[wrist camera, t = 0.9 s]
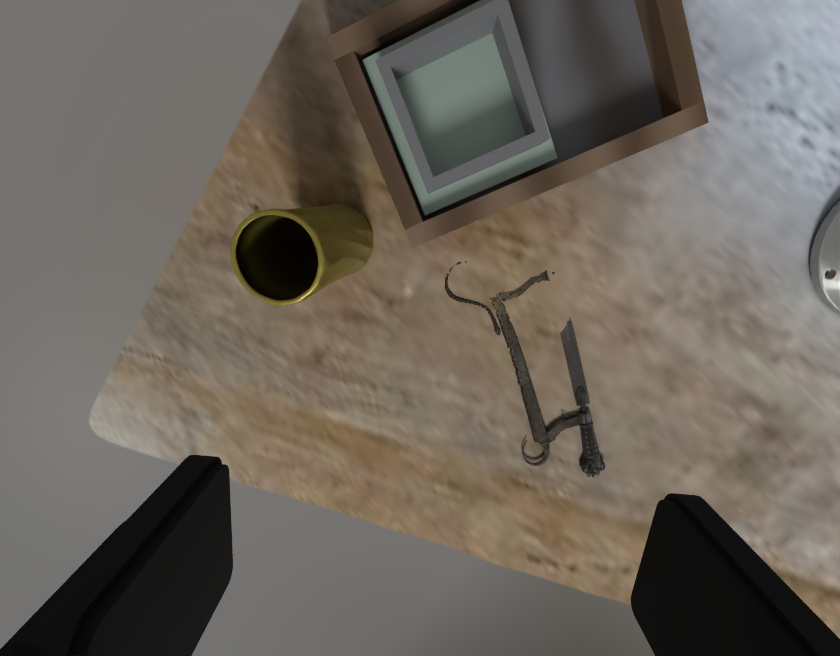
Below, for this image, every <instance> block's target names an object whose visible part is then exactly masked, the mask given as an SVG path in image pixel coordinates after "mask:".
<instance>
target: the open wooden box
mask: <svg viewBox="0 0 840 656" xmlns="http://www.w3.org/2000/svg"><path fill="white" fill-rule="evenodd" d="M478 1H480V0H397V1H396V2H394V3H392V4H390V5H388V6H386V7H384V8H382V9H380V10H378V11H376V12H374V13H373V14H371V15H369V16H367V17H365V18H363V19H361V20H359V21H357V22H355V23H353V24H351V25H350V26H348V27H346V28H344V29H342V30H340V31H338V32H336V33H334V34H332V35H330V36H328V37H327V38H326V41H327V43H328V45H329V48H330V50H331V53H332V55H333V57H334V60H335V62H336V65H337V67H338V69H339V72H340V74H341V77H342V79H343V81H344V84H345V86H346V89H347V91H348V93H349V96H350V98H351V101H352V103H353V105H354V108H355V110H356V113H357V115H358V117H359V120H360V122H361V125H362V127H363V129H364V132H365V134H366V137H367V139H368V141H369V144H370V146H371V149H372V151H373V153H374V156H375V158H376V161H377V163H378V165H379V168H380V170H381V173H382V175H383V178H384V180H385V182H386V185H387V187H388V190H389V192H390V194H391V197H392V199H393V202H394V204H395V206H396V209H397V211H398V214H399V216H400V218H401V221H402V223H403V226H404V228H405V230H406V233H407V235H408V238H409V240H410V242H411V245H412V247H415V246H417V245H420V244H422V243H424V242H427V241H429V240H431V239H434V238H436V237H439V236H441V235H443V234H446V233H448V232H450V231H453V230H455V229H458V228H460V227H462V226H465V225H467V224H469V223H472V222H474V221H476V220H479V219H481V218H484V217H486V216H488V215H491V214H493V213H495V212H498V211H500V210H502V209H505V208H507V207H510V206H512V205H514V204H517V203H519V202H521V201H524V200H526V199H529V198H531V197H533V196H536V195H538V194H540V193H543V192H545V191H547V190H550V189H552V188H555V187H557V186H559V185H562V184H564V183H566V182H569V181H571V180H574V179H576V178H578V177H581V176H583V175H585V174H588V173H590V172H592V171H595V170H597V169H600V168H602V167H604V166H607V165H609V164H611V163H614V162H616V161H618V160H621V159H623V158H626V157H628V156H630V155H633V154H635V153H637V152H640V151H642V150H645V149H647V148H649V147H652V146H654V145H656V144H659V143H661V142H663V141H666V140H668V139H671V138H673V137H675V136H678V135H680V134H682V133H685V132H687V131H689V130H692V129H694V128H697V127H699V126H701V125H704V124H706V123H708V118H707V113H706V109H705V104H704V100H703V95H702V91H701V86H700V82H699V77H698V73H697V68H696V64H695V59H694V55H693V50H692V46H691V41H690V37H689V32H688V28H687V23H686V19H685V14H684V10H683V5H682V1H681V0H508V1H509V4H510V7H511V11H512V14H513V17H514V20H515V23H516V27H517V30H518V33H519V36H520V39H521V43H522V46H523V49H524V52H525V55H526V59H527V62H528V65H529V68H530V71H531V75H532V78H533V81H534V84H535V87H536V91H537V94H538V97H539V100H540V103H541V107H542V110H543V113H544V116H545V120H546V123H547V126H548V129H549V132H550V136H551V139H552V142H553V145H554V148H555V152H556V155H557V158H556V159H554V160H552V161H550V162H547V163H545V164H543V165H540V166H538V167H536V168H533V169H531V170H529V171H526V172H524V173H522V174H519V175H517V176H515V177H513V178H510V179H508V180H506V181H503V182H501V183H499V184H496V185H494V186H492V187H489V188H487V189H485V190H483V191H480V192H478V193H476V194H473V195H471V196H469V197H466V198H464V199H462V200H459V201H457V202H455V203H452V204H450V205H448V206H446V207H443V208H441V209H439V210H436V211H434V212H432V213H429V214H427V215H424V212H423V210H422V207H421V205H420V202H419V200H418V197H417V195H416V192H415V190H414V187H413V185H412V182H411V180H410V177H409V175H408V172H407V170H406V167H405V165H404V162H403V160H402V157H401V155H400V152H399V150H398V147H397V145H396V142H395V140H394V137H393V135H392V132H391V130H390V127H389V125H388V122H387V120H386V117H385V115H384V112H383V110H382V107H381V105H380V102H379V100H378V97H377V95H376V92H375V90H374V87H373V85H372V82H371V80H370V77H369V75H368V72H367V70H366V67H365V65H364V62H363V59H365V58H367V57H369V56H371V55H373V54H375V53H377V52H379V51H381V50H383V49H385V48H387V47H389V46H391V45H393V44H395V43H397V42H399V41H401V40H403V39H405V38H407V37H409V36H411V35H413V34H415V33H417V32H419V31H421V30H422V29H424V28H426V27H428V26H430V25H432V24H434V23H436V22H438V21H440V20H442V19H444V18H446V17H448V16H450V15H452V14H454V13H456V12H458V11H460V10H462V9H464V8H466V7H468V6H470V5H472V4H474V3H476V2H478Z"/></svg>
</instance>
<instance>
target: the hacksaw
mask: <svg viewBox="0 0 840 656" xmlns="http://www.w3.org/2000/svg"><path fill="white" fill-rule="evenodd" d="M466 262H467V261H465V263H466ZM460 263H461V262H458V263H457V265H458V264H460ZM455 265H456V264H455ZM452 268H453V267H452ZM452 268H451V269H452ZM451 269H450V271H451ZM449 273H450V272H449ZM552 274H555V272H552ZM541 275H542V276H541ZM448 276H449V274H447V277H446V278H445V289H446V291H447V294H448V295H449V296H450V297H451V298H453V299H454V300H457V301H460V302H465V303H470V304H474V305H478V306H482V308H486V310H487V311H488V313H489V314H490V316H491V319H492V321H493V324H494V330H495V332H496V333H497V334H498V335H500V328H499V327H498V324H497V322H496V319H495V318H494V315H493V314H492V313H491V310H490V309H488V307H487V306H485V305H483V304H480V303H479V302H475V301H471V300H467V299H464V298H460V297H457V296H455V295H453V293H452V292H451V291H450V289H449V288H448V283H447V281H448ZM542 280H544V281H545V280H547V281H550V279H549V278H548V274H547V270H546V271H545V272H543V274H542V273H540V276H535V277H532V278H530V279H529V280H528V281H527V282H525V283H524V284H523V285H522V286H521V287H519V288H518V289H515V290H513V291H510V292H505V293H498V294H499V297H498V294H497V297H493V298H491V297H490V298H491V300H492V302H491V303H492V304H493V306H494V308H495V309H496V310H497V313H496V315H497V317H498V319H499V322H500V326H501V329H502V332H503V335H504V338H505V341H506V343H507V345H508V348H510V350H511V351H510V355H511V356H512V362H513V365H514V367H515V369H516V371H515V373H516V375H517V378H518V381H519V382H518V384H519V385H520V386H521V393H522V396H523V401H524V404H525V408H526V412H527V415H528V419H529V423H530V427H531V431H532V434H533V438H534V441H535V442H537V443H539V444H540V445H541V446H542V448H543V449H544V458H543V459H542V460H541V461H539V462H537V463H530V462H528V461H527V460H526V458H525V456H524V453H523V450H524V447H525V444H526V442H525V444H524V446H523V449H522V455H523V458H524V460H525V461H526V462H527V463H528V464H530V465H534V466H538V465H541V464H543V463H545V462H546V461H547V459H548V457H549V454H550V453H549V448H550V447H549V445H548V444H549V443H550V442H551V441H553V440H555V438H556V436H557V435H558V434H559V433H560V432H561V431H563V430H564V429H566V428H569V427H573V426H577V425H579V426H580V427H581V435H582V443H583V444H582V445H583V451H584V454H583V457H582V459H581V461H580V467H581V468H582V471H583V472H585V473H587V474H586V475H587V476H588V477H590V476H591V474H592V477H594V475H599V474H600V471H602V470H605V463H604V462H603V461H602V460H601V458H600V455H599V451H598V447H597V443H596V440H595V435H594V431H593V426H592V425H593V422H592V421H591V415H590V411H589V410H586V407H585V404H588V403H590V401H589V397H588V393H587V389H586V384H585V379H584V374H583V370H582V366H581V365H582V364H581V362H580V361H581V360H580V356H579V352H578V347H577V345H576V344H577V343H576V339H575V334H574V330H573V329H574V328H573V326H572V325H573V324H572V322H571V319H570V318H569V319H570V321H567V325H568V326H567V325H566V327H565V328H564V329H563V331H562V332H561V333H560V334H561V338H562V342H563V347H564V351H565V356H566V360H567V365H568V369H569V373H570V378H571V382H572V387H573V391H574V395H575V400H576V404H577V406H580V405H581V412H578V413H577V414H578V415H575V416H571V417H569V416H567V415H565V414H564V413H563V412H562V413H561V414H562V415H565V416H567V417H569V418H565V419H563V420H560V421H558V422H556V423H555V424H553V425H552V426H551V427H550V428H549V429H548V430H547V431H546V429H545V426H544V423H543V420H542V416H541V413H540V409H539V406H538V403H537V400H536V396H535V393H534V390H533V387H532V383H531V380H530V376H529V373H528V370H527V367H526V363H525V360H524V356H523V353H522V350H521V348H520V345H519V342H518V338H517V336H516V333H515V331H514V328H513V326H512V324H511V322H510V320H509V316H508V314H507V313H506V310H505V306H504V304H503V303H502V302H501V300H503V299H499V298H504V300H503V301H506V300H507V299H511V298H514V297H517V296H520V295H521V294H523V293H524V292H525V291H526V290H527V289H528V288H529V287H530V286H531V285H533V284H534V283H535V282H538V283H539V282H541V281H542ZM497 298H498V299H497ZM526 441H527V440H526Z"/></svg>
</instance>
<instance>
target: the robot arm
mask: <svg viewBox="0 0 840 656" xmlns="http://www.w3.org/2000/svg"><path fill="white" fill-rule="evenodd" d="M810 271H811V279H812V282H813V285H814V287H815V290H816V292H817V294H818V295H819V297H820V298H821V300H822V301H823V302H824V303H825V304H826V305H827V306H828V307H829V308H830V309H832V310H833V311H835V312H836V313H838V314H840V200H839V201H838V202H837V204H836V205H835V206H834V207H833V208H832V209H831V211H830V212H829V213H828V215H827V216H826V218H825V219H824V221H823V222H822V224H821V226H820V228H819V230H818V232H817V234H816V236H815V240H814V243H813V247H812V250H811V259H810ZM232 569H233V555H232V531H231V506H230V481H229V468H228V466H227V465H223V464H222V462H221V460H220V458H219V457H212V456H200V455H190V456H188V457H187V458H186V459H185V460H184V461H183V462H182V463H181V464H180V465H179V466H178V467H177V468H176V469H175V470H174V471H173V473H171V475H170V476H169V477H168V478H167V479H166V480H165V481H164V482H163V483H162V484H161V485H160V486H159V487H158V488H157V489H156V490H155V491H154V492H153V493H152V494H151V495H150V496H149V498H148V499H147V500H146V501H145V502H144V503H143V504H142V505H141V506H140V507H139V508H138V509H137V510H136V511H135V512H134V513H133V514H132V515H131V516H130V517H129V518H128V519H127V520H126V521H125V522H124V523H122V524H121V525H120V526H119V527H118V528H117V529H116V530H115V531H114V532H113V533H112V534H111V535H110V536H109V537H108V538H107V539H106V540H105V541H104V542H103V543H102V544H101V545H100V546H99V547H98V548H97V550H96V551H95V552H94V553H93V554H92V555H91V556H90V557H89V558H88V559H87V560H86V561H85V562H84V563H83V564H82V565H81V566H80V567H79V568H78V569H77V570H76V571H75V572H74V573H73V574H72V575H71V577H70V578H69V579H68V580H67V581H66V582H65V583H64V584H63V585H62V586H61V587H60V588H59V589H58V590H57V591H56V592H55V593H54V594H53V595H52V596H51V597H50V598H49V599H48V600H47V601H46V602H45V604H43V606H42V607H41V608H40V609H39V610H38V611H37V612H36V613H35V614H34V615H33V616H32V617H31V618H30V619H29V620H28V621H27V622H26V623H25V624H24V625H23V626H22V627H21V628H20V629H19V631H17V633H16V634H15V635H14V636H13V637H12V638H11V639H10V640H9V641H8V642H7V643H6V644H5V645H4V646H3V647H2V648H1V649H0V656H191V655H192V653H193V651H194V650H195V648H196V646H197V643H198V642H199V640H200V638H201V636H202V634H203V632H204V630H205V628H206V626H207V624H208V622H209V621H210V619H211V617H212V615H213V613H214V611H215V609H216V607H217V605H218V603H219V601H220V600H221V598H222V596H223V594H224V592H225V590H226V588H227V586H228V584H229V581H230V578H231V574H232ZM631 606H632V610H633V613H634V616H635V618H636V620H637V622H638V623H639V625H640V627H641V629H642V631H643V633H644V635H645V637H646V639H647V641H648V643H649V644H650V646H651V648H652V650H653V652H654V654H655V656H840V639H839V638H838V637H837V636H836V635H835V634H834V633H833V632H832V631H831V630H830V629H829V627H828V626H827V625H826V624H825V623H824V622H823V621H822V620H821V619H820V618H819V617H818V616H817V615H816V614H815V613H814V612H813V611H812V610H811V609H810V608H809V607H808V606H807V605H806V604H805V603H804V602H803V601H802V600H801V599H800V598H799V597H798V596H797V595H796V594H795V593H794V592H793V591H792V590H791V589H790V587H789V586H788V585H787V584H786V583H785V582H784V581H783V580H782V579H781V578H780V577H779V576H778V575H777V574H776V573H775V572H774V571H773V570H772V569H771V568H770V567H769V566H768V565H767V564H766V563H765V562H764V561H763V560H762V559H761V558H760V557H759V556H758V555H757V554H756V553H755V552H754V551H753V550H752V549H751V548H750V546H749V545H748V544H747V543H746V542H745V541H744V540H743V539H742V538H741V537H740V536H739V535H738V534H737V533H736V532H735V531H734V530H733V529H732V528H731V527H730V526H729V525H728V524H727V523H726V522H725V521H724V520H723V519H722V518H721V517H720V516H719V515H718V514H717V513H716V512H715V511H714V510H713V509H712V508H711V506H710V505H709V504H708V503H707V502H706V501H705V500H704V499H702V498H701V497H700V496H696V495H685V494H673V493H671V494H668V495H667V496H666V497H665V499H664V500H660V501H659V502H658V504H657V507H656V510H655V514H654V517H653V521H652V524H651V528H650V531H649V535H648V538H647V542H646V545H645V549H644V552H643V556H642V559H641V563H640V566H639V570H638V573H637V577H636V580H635V584H634V587H633V591H632V595H631Z"/></svg>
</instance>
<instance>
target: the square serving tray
mask: <svg viewBox="0 0 840 656" xmlns="http://www.w3.org/2000/svg"><path fill="white" fill-rule="evenodd" d="M363 62H364V65H365V67H366V70H367V72H368V75H369V77H370V80H371V82H372V85H373V87H374V90H375V92H376V95H377V97H378V100H379V102H380V105H381V107H382V110H383V112H384V115H385V117H386V120H387V122H388V125H389V127H390V130H391V132H392V135H393V137H394V140H395V142H396V145H397V147H398V150H399V152H400V155H401V157H402V160H403V162H404V165H405V167H406V170H407V172H408V175H409V177H410V180H411V182H412V185H413V187H414V190H415V192H416V195H417V197H418V200H419V202H420V205H421V207H422V210H423V212H424V215H427V214H429V213H432V212H434V211H436V210H439V209H441V208H443V207H446V206H448V205H450V204H452V203H455V202H457V201H459V200H462V199H464V198H466V197H469V196H471V195H473V194H476V193H478V192H480V191H483V190H485V189H487V188H489V187H492V186H494V185H496V184H499V183H501V182H503V181H506V180H508V179H510V178H513V177H515V176H517V175H519V174H522V173H524V172H526V171H529V170H531V169H533V168H536V167H538V166H540V165H543V164H545V163H547V162H550V161H552V160H554V159H556V158H557V155H556V152H555V148H554V145H553V142H552V139H551V136H550V132H549V129H548V126H547V123H546V120H545V116H544V113H543V110H542V107H541V103H540V100H539V97H538V94H537V91H536V87H535V84H534V81H533V78H532V75H531V71H530V68H529V65H528V62H527V59H526V55H525V52H524V49H523V46H522V43H521V39H520V36H519V33H518V30H517V27H516V23H515V20H514V17H513V14H512V11H511V7H510V4H509V1H508V0H480V1H478V2H476V3H474V4H472V5H470V6H468V7H466V8H464V9H462V10H460V11H458V12H456V13H454V14H452V15H450V16H448V17H446V18H444V19H442V20H440V21H438V22H436V23H434V24H432V25H430V26H428V27H426V28H424V29H422V30H421V31H419V32H417V33H415V34H413V35H411V36H409V37H407V38H405V39H403V40H401V41H399V42H397V43H395V44H393V45H391V46H389V47H387V48H385V49H383V50H381V51H379V52H377V53H375V54H373V55H371V56H369V57H367V58H365V59H363Z"/></svg>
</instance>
